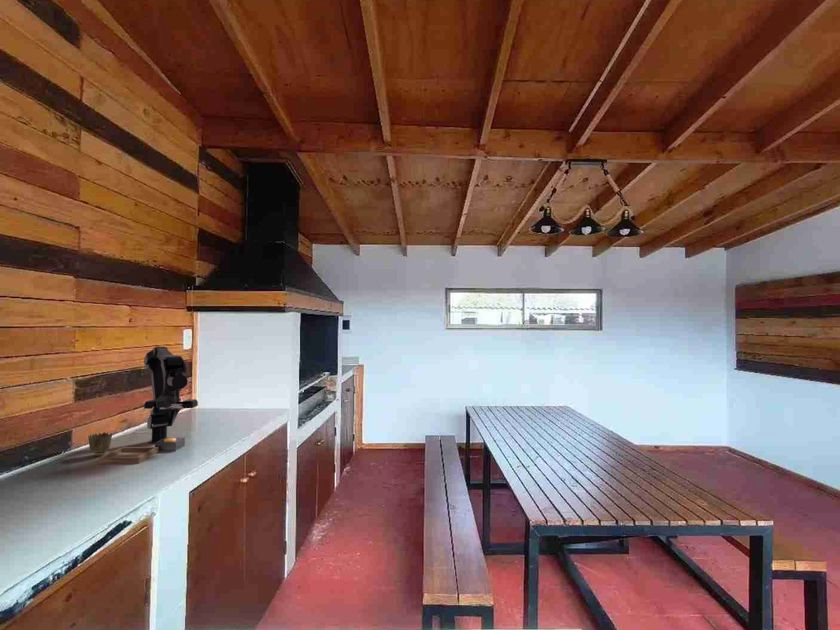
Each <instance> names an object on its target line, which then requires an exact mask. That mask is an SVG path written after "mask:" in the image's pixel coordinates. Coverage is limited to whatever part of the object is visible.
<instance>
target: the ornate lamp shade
mask: <svg viewBox="0 0 840 630" xmlns="http://www.w3.org/2000/svg"><path fill="white" fill-rule="evenodd" d="M87 437H88V445H89V449H90V451H91V452H93V456H94V457H102V456H104V455H106V454H107V450H108V449H110V446H111V444H112V437H113V433H112V432H111V433H110V434H109V432H103V433H101V432H99V433H95V434H89V435H88V436H87Z"/></svg>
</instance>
